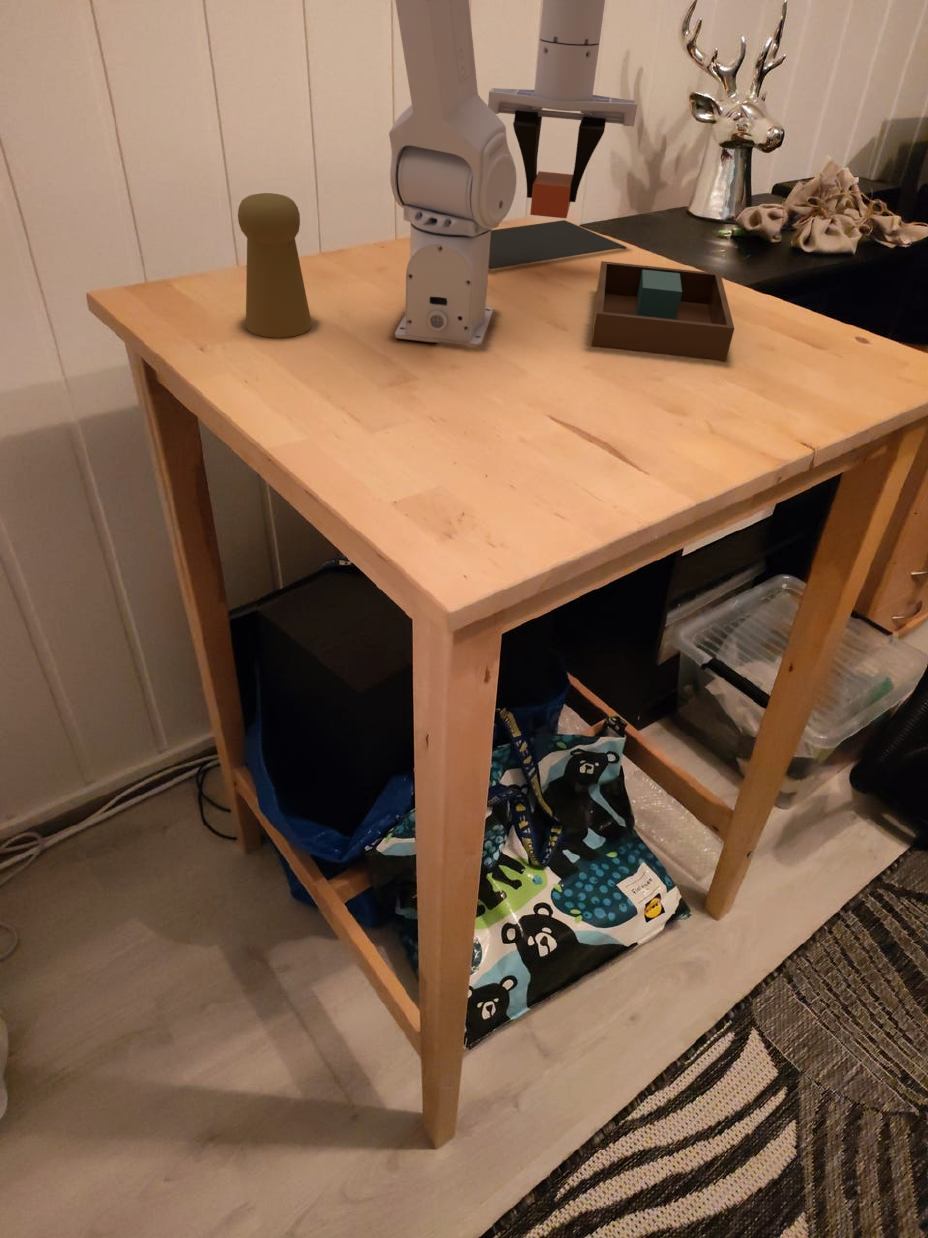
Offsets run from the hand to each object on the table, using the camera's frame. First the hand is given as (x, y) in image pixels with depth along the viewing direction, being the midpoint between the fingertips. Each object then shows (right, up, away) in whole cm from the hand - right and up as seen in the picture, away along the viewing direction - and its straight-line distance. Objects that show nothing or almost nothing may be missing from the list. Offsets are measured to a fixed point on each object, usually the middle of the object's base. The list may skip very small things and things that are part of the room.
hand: (552, 197), depth 88 cm
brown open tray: (+10, -16, -6) cm, 19 cm away
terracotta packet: (0, -1, +1) cm, 1 cm away
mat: (-1, 0, +12) cm, 12 cm away
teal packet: (+10, -13, -3) cm, 17 cm away
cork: (-27, -17, -10) cm, 33 cm away
